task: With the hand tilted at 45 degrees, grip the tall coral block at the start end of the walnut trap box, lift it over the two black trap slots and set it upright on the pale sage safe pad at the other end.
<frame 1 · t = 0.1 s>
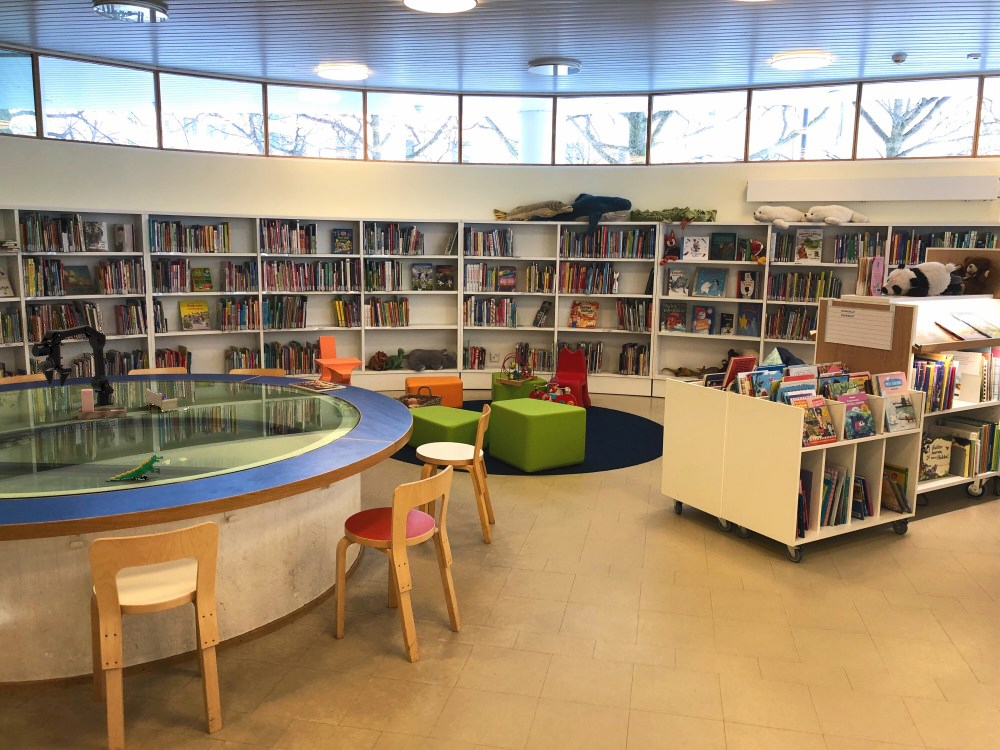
hand: (55, 385, 408), 15 cm above the table, tool pointing down, fingers open, 9 cm apart
trap box: (103, 416, 407), on the table
toy sofa: (161, 409, 432), on the table
crocodile: (135, 479, 306), on the table
coral block: (88, 413, 404), point 2 cm above the table, touching trap box
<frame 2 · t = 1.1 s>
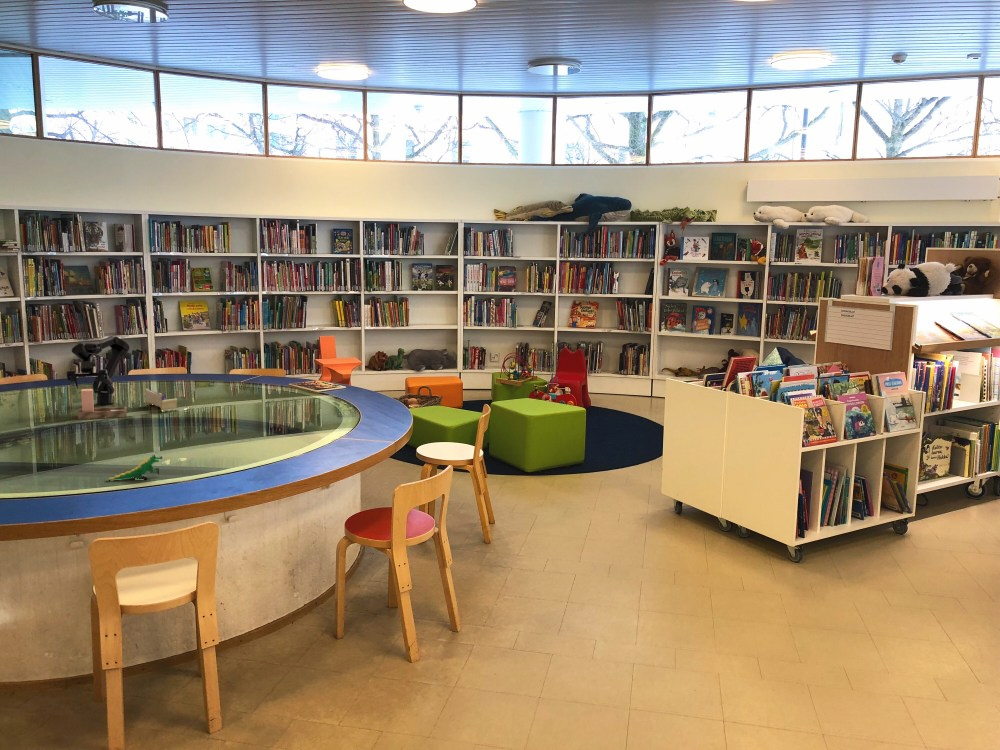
hand: (87, 388, 410), 13 cm above the table, tool tilted 45°, fingers open, 9 cm apart
nothing on the table moved.
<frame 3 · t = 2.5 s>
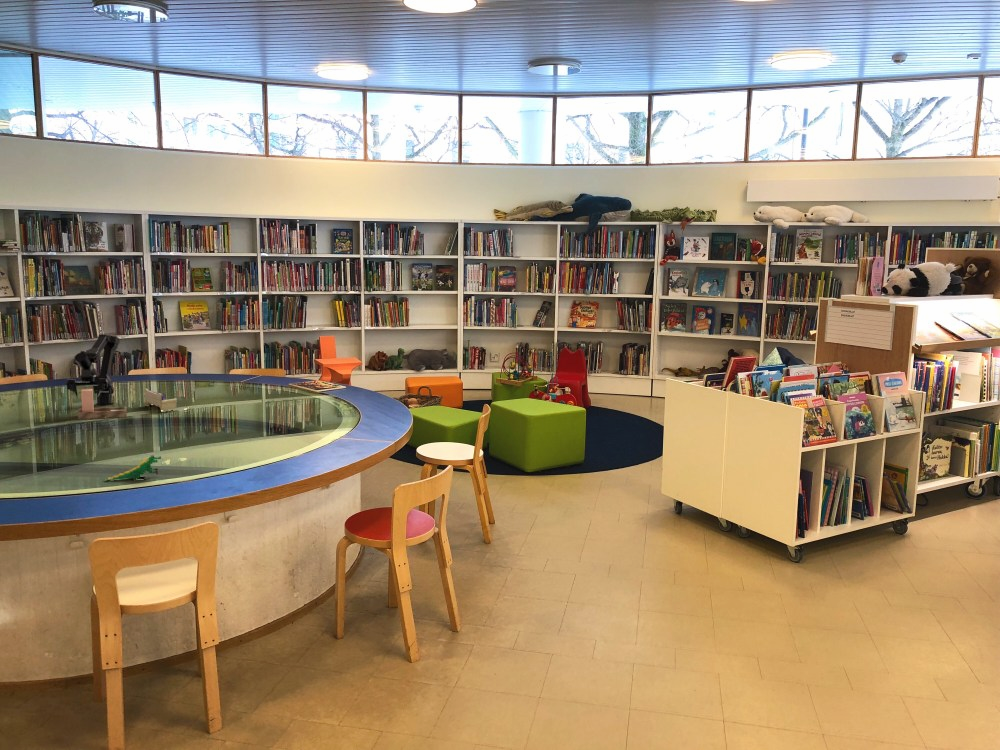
hand: (87, 397, 404), 10 cm above the table, tool tilted 45°, fingers open, 9 cm apart
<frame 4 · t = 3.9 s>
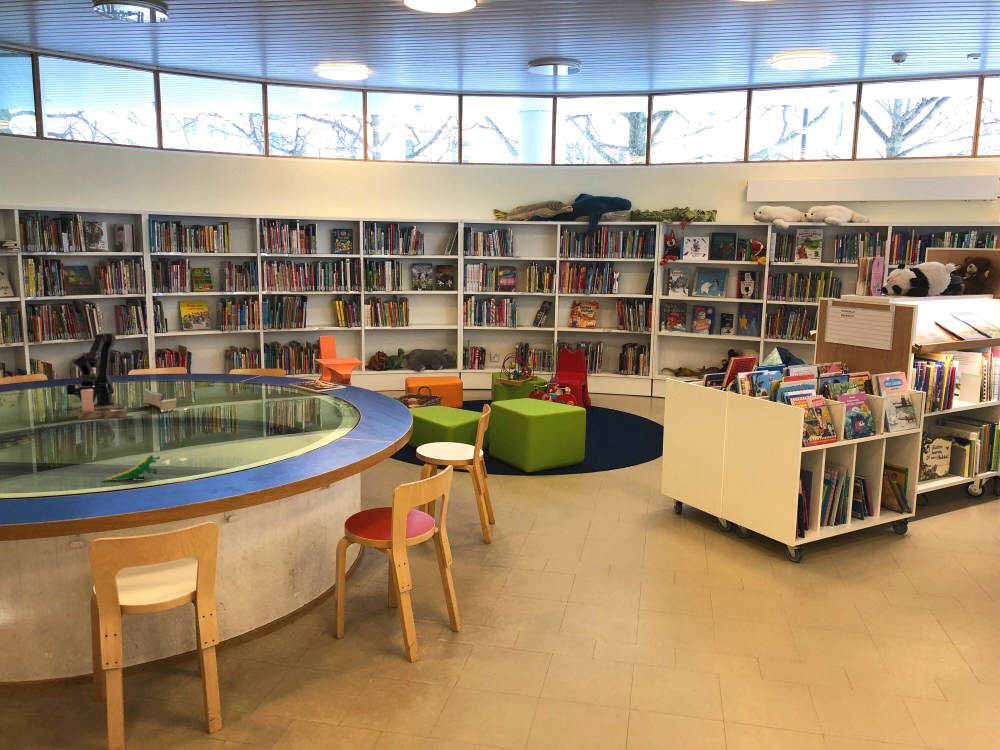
hand: (87, 402, 402), 8 cm above the table, tool tilted 45°, fingers closed on coral block, 5 cm apart
coral block: (88, 413, 404), point 2 cm above the table, touching gripper, trap box
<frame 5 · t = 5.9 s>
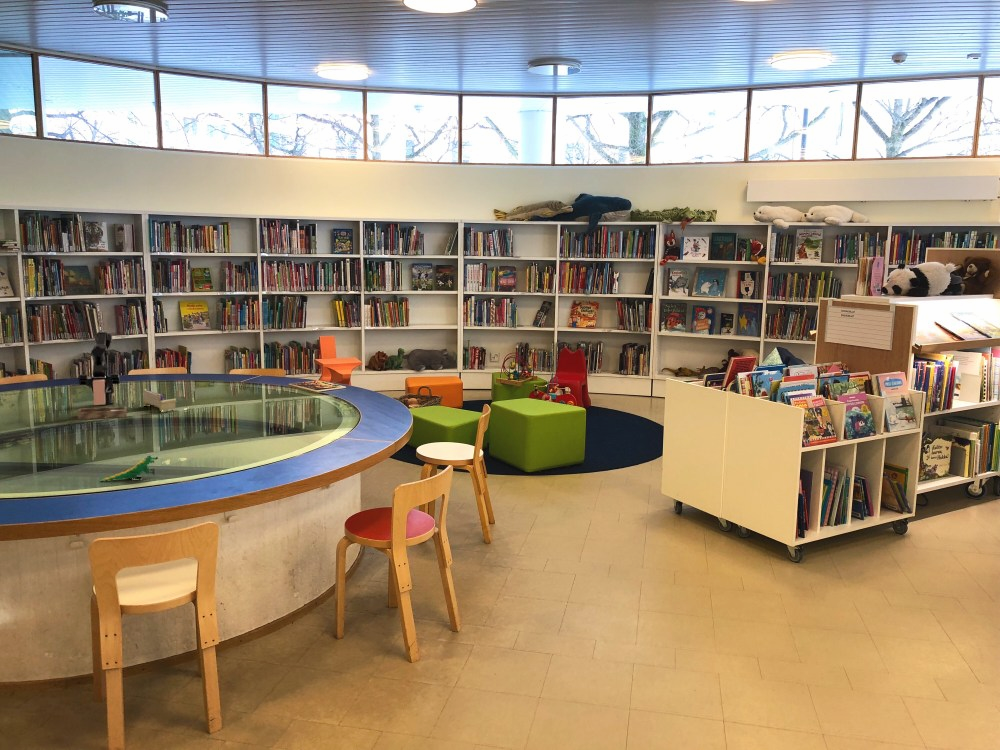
hand: (99, 393, 404), 12 cm above the table, tool tilted 45°, fingers closed on coral block, 5 cm apart
coral block: (99, 403, 406), point 7 cm above the table, touching gripper
when the fingers open (9 cm above the table, at t = 7.9 s): coral block drops 1 cm, resting on trap box.
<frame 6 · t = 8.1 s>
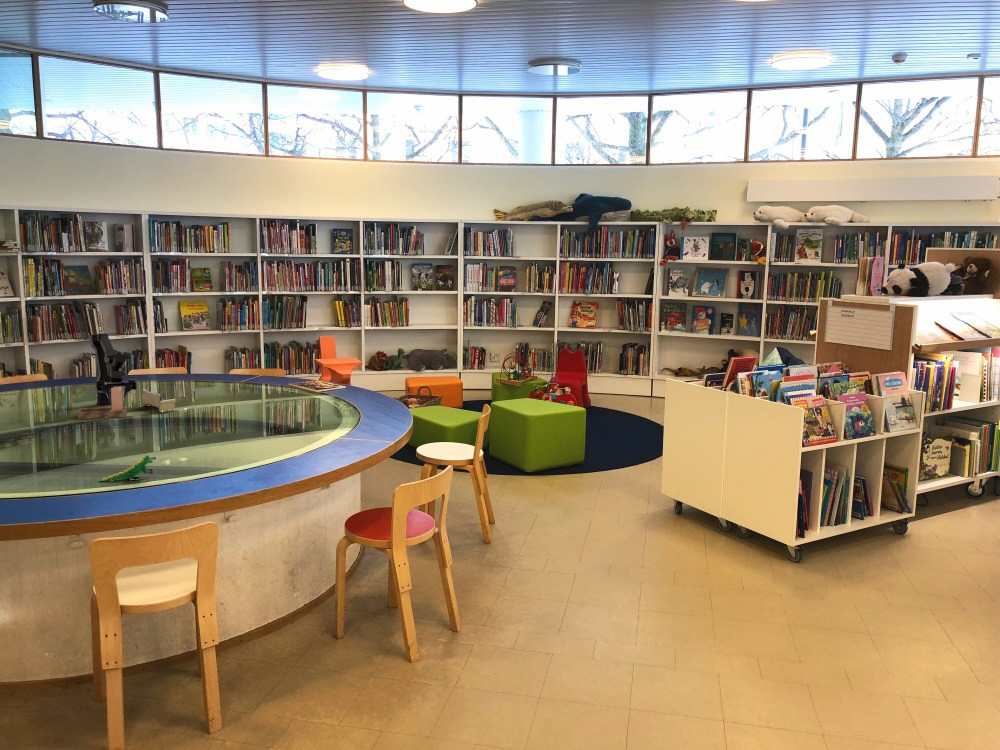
hand: (116, 398, 407), 9 cm above the table, tool tilted 45°, fingers open, 7 cm apart
coral block: (117, 411, 410), point 2 cm above the table, touching trap box
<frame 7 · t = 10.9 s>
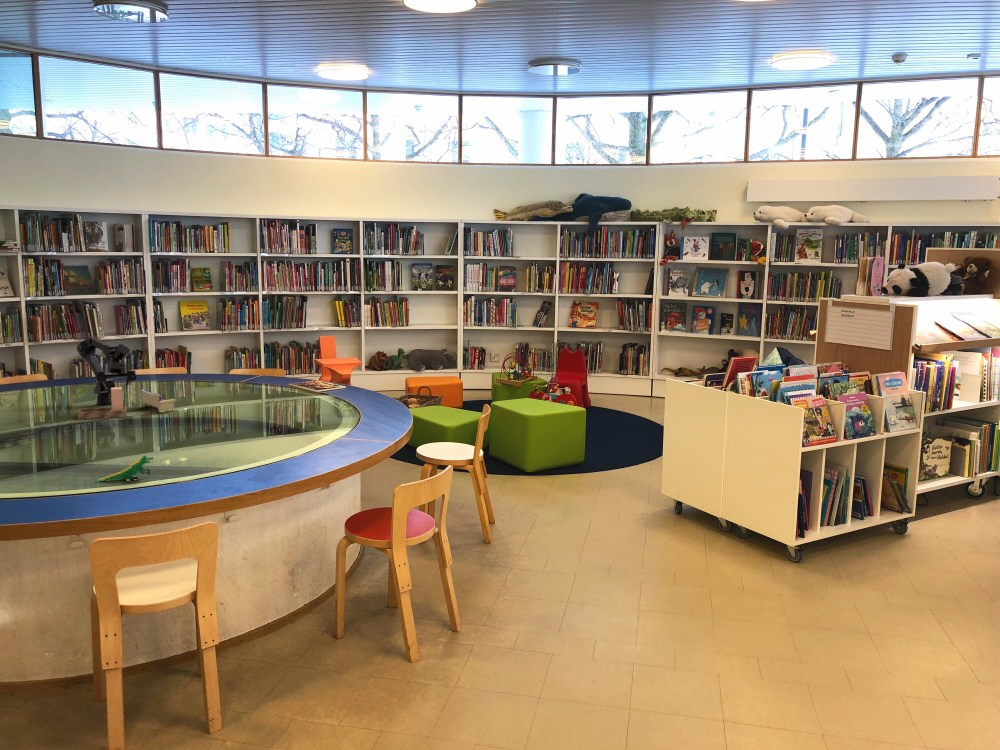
hand: (116, 388, 415), 13 cm above the table, tool tilted 45°, fingers open, 9 cm apart
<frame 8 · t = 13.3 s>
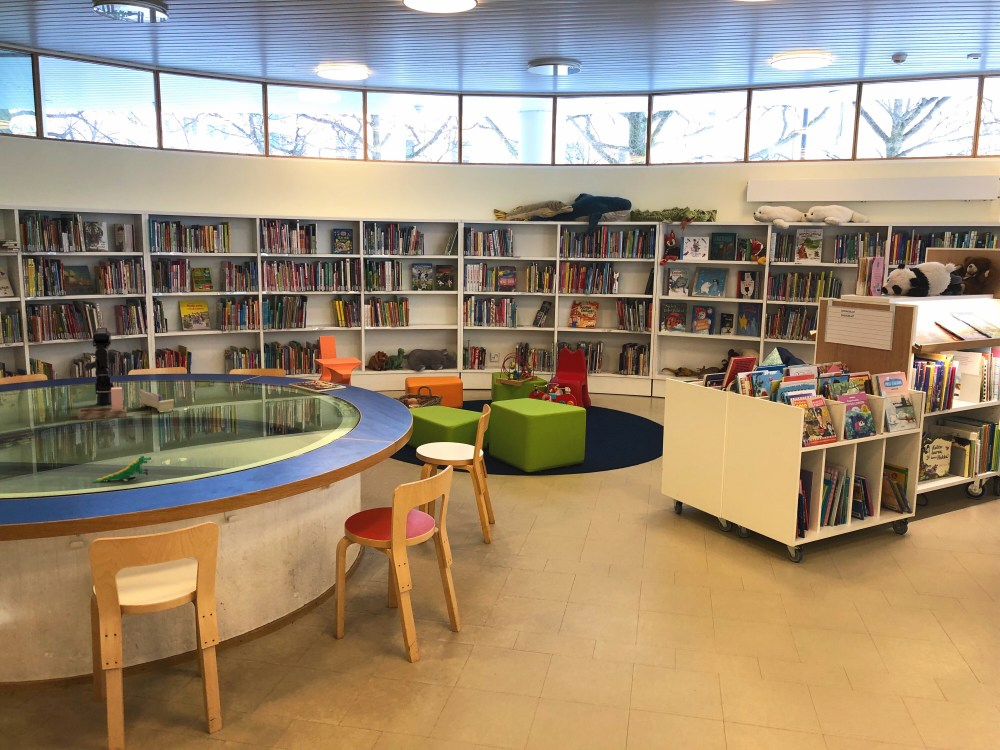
hand: (103, 385, 420), 13 cm above the table, tool pointing down, fingers open, 9 cm apart
at the end: coral block inside the target area on the trap box (0.2 cm from its centre), point 2.3 cm above the trap box's base; coral block tilted 0°; the gripper is holding nothing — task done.
